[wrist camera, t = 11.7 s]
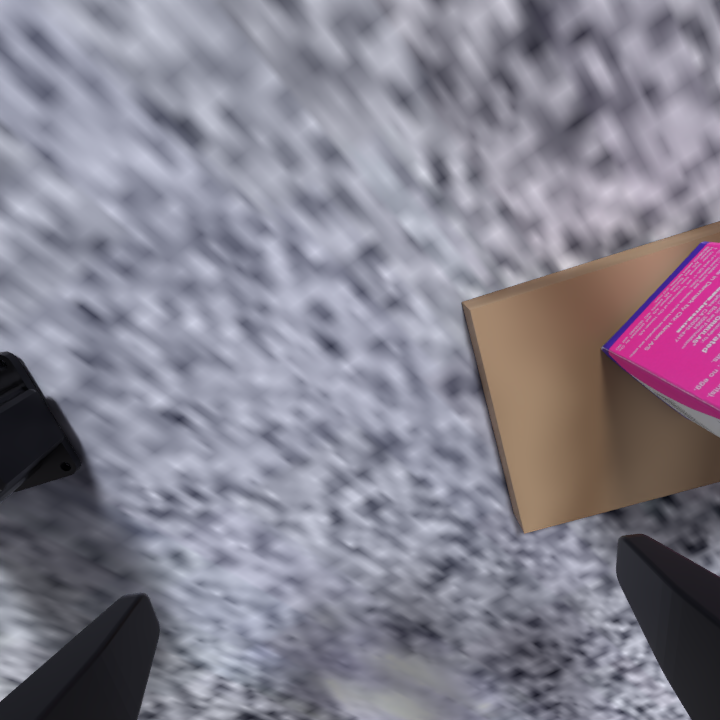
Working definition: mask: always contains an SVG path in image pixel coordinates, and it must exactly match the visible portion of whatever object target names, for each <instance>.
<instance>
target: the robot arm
mask: <svg viewBox="0 0 720 720" xmlns="http://www.w3.org/2000/svg"><path fill="white" fill-rule="evenodd" d="M2 360H3V361H5V362H6V363H7V366H8V367H6V366H4V365H3V363H2ZM65 462H67V463H69V464H70V465H71V467H70V466H68V465H67V464H66V463H65ZM80 466H81V462H80V459H79V457H78V456H77V454H76V453H75V451H74V449H73V448H72V446H71V444H70V443H69V441H68V440H67V438H66V436H65V435H64V433H63V431H62V430H61V428H60V427H59V425H58V423H57V422H56V420H55V419H54V417H53V415H52V414H51V412H50V410H49V409H48V407H47V406H46V404H45V402H44V401H43V399H42V397H41V396H40V394H39V393H38V391H37V389H36V388H35V386H34V384H33V383H32V381H31V380H30V378H29V376H28V375H27V373H26V371H25V370H24V368H23V367H22V365H21V363H20V362H19V360H18V359H17V357H16V356H15V355H13V354H12V353H10V352H0V503H1V502H2V501H3V500H4V499H6V498H7V497H8V496H9V495H10V494H11V493H13V492H17V491H20V490H23V489H27V488H30V487H33V486H36V485H40V484H43V483H46V482H50V481H53V480H56V479H60V478H63V477H66V476H69V475H72V474H74V473H75V472H76V471H77V470H78V469H79V468H80ZM616 573H617V578H618V581H619V584H620V586H621V588H622V590H623V592H624V594H625V596H626V598H627V600H628V602H629V604H630V606H631V608H632V610H633V612H634V615H635V617H636V619H637V621H638V623H639V625H640V627H641V629H642V631H643V633H644V635H645V637H646V639H647V641H648V643H649V645H650V647H651V649H652V651H653V653H654V655H655V657H656V659H657V661H658V663H659V665H660V667H661V669H662V671H663V673H664V674H665V676H666V678H667V680H668V681H669V683H670V685H671V687H672V688H673V690H674V691H675V693H676V695H677V696H678V698H679V700H680V701H681V703H682V705H683V706H684V708H685V710H686V711H687V713H688V714H689V716H690V718H691V719H692V720H720V577H719V576H717V575H716V574H714V573H712V572H710V571H708V570H707V569H705V568H703V567H701V566H700V565H698V564H696V563H694V562H693V561H691V560H689V559H687V558H686V557H684V556H682V555H680V554H678V553H677V552H675V551H673V550H671V549H670V548H668V547H666V546H664V545H663V544H661V543H659V542H657V541H656V540H654V539H652V538H650V537H648V536H646V535H644V534H633V535H625V536H621V537H620V538H619V540H618V546H617V563H616ZM159 632H160V627H159V622H158V619H157V617H156V614H155V612H154V609H153V607H152V604H151V602H150V599H149V597H148V596H147V595H146V594H145V593H137V594H128V595H124V596H122V597H121V598H120V599H118V600H117V601H116V602H115V603H114V604H113V605H111V606H110V607H109V608H108V609H107V610H106V611H104V612H103V613H102V614H101V615H100V616H99V617H98V618H96V619H95V620H94V621H93V622H92V623H91V624H90V625H88V626H87V627H86V628H85V629H84V630H83V631H81V632H80V633H79V634H78V635H77V636H76V637H75V638H73V639H72V640H71V641H70V642H69V643H68V644H66V645H65V646H64V647H63V648H62V649H61V650H60V651H58V652H57V653H56V654H55V655H54V656H53V657H51V658H50V659H49V660H48V661H47V662H46V663H45V664H43V665H42V666H41V667H40V668H39V669H38V670H36V671H35V672H34V673H33V674H32V675H31V676H30V677H28V678H27V679H26V680H25V681H24V682H23V683H21V684H20V685H19V686H18V687H17V688H16V689H15V690H13V691H12V692H11V693H10V694H9V695H8V696H6V697H5V698H4V699H3V700H2V701H1V702H0V720H137V719H138V715H139V712H140V708H141V704H142V700H143V696H144V693H145V689H146V685H147V681H148V677H149V673H150V670H151V666H152V662H153V658H154V654H155V650H156V646H157V643H158V639H159Z"/></svg>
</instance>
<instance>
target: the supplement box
mask: <svg viewBox="0 0 720 720" xmlns="http://www.w3.org/2000/svg"><path fill="white" fill-rule="evenodd" d="M601 349H602V351H603V352H604V353H605V354H606V355H607V356H608V357H609V358H610V359H611V360H613V361H614V362H615V363H616V364H617V365H618V366H620V367H621V368H622V369H623V370H624V371H626V372H627V373H628V374H629V375H631V376H632V377H633V378H634V379H636V380H637V381H638V382H639V383H641V384H642V385H643V386H644V387H646V388H647V389H648V390H649V391H651V392H652V393H653V394H654V395H656V396H657V397H658V398H659V399H661V400H662V401H663V402H665V403H666V404H667V405H669V406H670V407H671V408H672V409H674V410H675V411H677V412H678V413H679V414H681V415H682V416H683V417H685V418H687V419H689V420H690V421H693V422H694V423H696V424H698V425H699V426H701V427H703V428H705V429H706V430H708V431H710V432H711V433H713V434H714V435H716V436H718V437H719V438H720V243H716V242H706V241H704V242H701V243H700V244H699V245H698V246H697V247H696V248H695V249H694V250H693V251H692V253H691V254H690V255H689V256H688V257H687V258H686V259H685V260H684V261H683V262H682V263H681V264H680V265H679V266H678V267H677V269H676V270H675V271H674V272H673V273H672V274H671V275H670V276H669V277H668V278H667V279H666V280H665V281H664V282H663V283H662V285H661V286H660V287H659V288H658V289H657V290H656V291H655V292H654V293H653V294H652V295H651V296H650V297H649V298H648V299H647V300H646V302H645V303H644V304H643V305H642V306H641V307H640V308H639V309H638V310H637V311H636V312H635V313H634V314H633V315H632V316H631V318H630V319H629V320H628V321H627V322H626V323H625V324H624V325H623V326H622V327H621V328H620V329H619V330H618V331H617V332H616V333H615V334H614V335H613V336H612V337H611V338H610V339H609V340H608V341H607V342H606V343H605V344H604V345H603V346H602V348H601Z"/></svg>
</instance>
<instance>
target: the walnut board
mask: <svg viewBox="0 0 720 720" xmlns="http://www.w3.org/2000/svg"><path fill="white" fill-rule="evenodd" d="M704 241H706V242H716V243H720V221H719V222H716V223H713V224H709V225H706V226H703V227H700V228H697V229H693V230H690V231H687V232H684V233H681V234H677V235H674V236H671V237H668V238H665V239H662V240H658V241H655V242H652V243H649V244H646V245H642V246H639V247H636V248H633V249H630V250H626V251H623V252H620V253H617V254H614V255H611V256H607V257H604V258H601V259H598V260H595V261H591V262H588V263H585V264H582V265H579V266H575V267H572V268H569V269H566V270H563V271H560V272H556V273H553V274H550V275H547V276H544V277H540V278H537V279H534V280H531V281H528V282H524V283H521V284H518V285H515V286H512V287H509V288H505V289H502V290H499V291H496V292H493V293H489V294H486V295H483V296H480V297H477V298H473V299H470V300H467V301H464V302H462V306H463V310H464V314H465V318H466V322H467V326H468V330H469V334H470V338H471V342H472V346H473V350H474V354H475V358H476V362H477V366H478V370H479V374H480V378H481V382H482V386H483V390H484V394H485V398H486V402H487V406H488V410H489V414H490V418H491V422H492V427H493V431H494V435H495V439H496V443H497V447H498V451H499V455H500V459H501V463H502V467H503V471H504V475H505V479H506V483H507V487H508V491H509V495H510V499H511V503H512V507H513V511H514V515H515V516H516V518H517V520H518V522H519V524H520V526H521V528H522V530H523V532H524V534H525V533H528V532H532V531H536V530H540V529H543V528H547V527H551V526H555V525H559V524H562V523H566V522H570V521H574V520H577V519H581V518H585V517H589V516H592V515H596V514H600V513H604V512H608V511H611V510H615V509H619V508H623V507H626V506H630V505H634V504H638V503H641V502H645V501H649V500H653V499H656V498H660V497H664V496H668V495H672V494H675V493H679V492H683V491H687V490H690V489H694V488H698V487H702V486H705V485H709V484H713V483H717V482H720V438H719V437H718V436H716V435H714V434H713V433H711V432H710V431H708V430H706V429H705V428H703V427H701V426H699V425H698V424H696V423H694V422H693V421H690V420H689V419H687V418H685V417H683V416H682V415H681V414H679V413H678V412H677V411H675V410H674V409H672V408H671V407H670V406H669V405H667V404H666V403H665V402H663V401H662V400H661V399H659V398H658V397H657V396H656V395H654V394H653V393H652V392H651V391H649V390H648V389H647V388H646V387H644V386H643V385H642V384H641V383H639V382H638V381H637V380H636V379H634V378H633V377H632V376H631V375H629V374H628V373H627V372H626V371H624V370H623V369H622V368H621V367H620V366H618V365H617V364H616V363H615V362H614V361H613V360H611V359H610V358H609V357H608V356H607V355H606V354H605V353H604V352H603V351H602V349H601V348H602V346H603V345H604V344H605V343H606V342H607V341H608V340H609V339H610V338H611V337H612V336H613V335H614V334H615V333H616V332H617V331H618V330H619V329H620V328H621V327H622V326H623V325H624V324H625V323H626V322H627V321H628V320H629V319H630V318H631V316H632V315H633V314H634V313H635V312H636V311H637V310H638V309H639V308H640V307H641V306H642V305H643V304H644V303H645V302H646V300H647V299H648V298H649V297H650V296H651V295H652V294H653V293H654V292H655V291H656V290H657V289H658V288H659V287H660V286H661V285H662V283H663V282H664V281H665V280H666V279H667V278H668V277H669V276H670V275H671V274H672V273H673V272H674V271H675V270H676V269H677V267H678V266H679V265H680V264H681V263H682V262H683V261H684V260H685V259H686V258H687V257H688V256H689V255H690V254H691V253H692V251H693V250H694V249H695V248H696V247H697V246H698V245H699V244H700V243H701V242H704Z"/></svg>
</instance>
